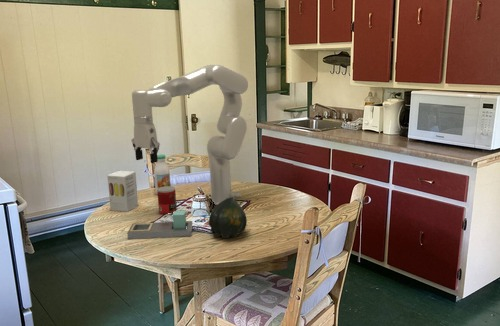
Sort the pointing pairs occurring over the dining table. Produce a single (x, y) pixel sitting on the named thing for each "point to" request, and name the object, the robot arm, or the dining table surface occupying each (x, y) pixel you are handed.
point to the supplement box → (122, 191)
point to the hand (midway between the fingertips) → (146, 160)
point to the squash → (228, 218)
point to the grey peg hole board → (158, 230)
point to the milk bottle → (161, 173)
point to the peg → (179, 220)
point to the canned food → (166, 199)
